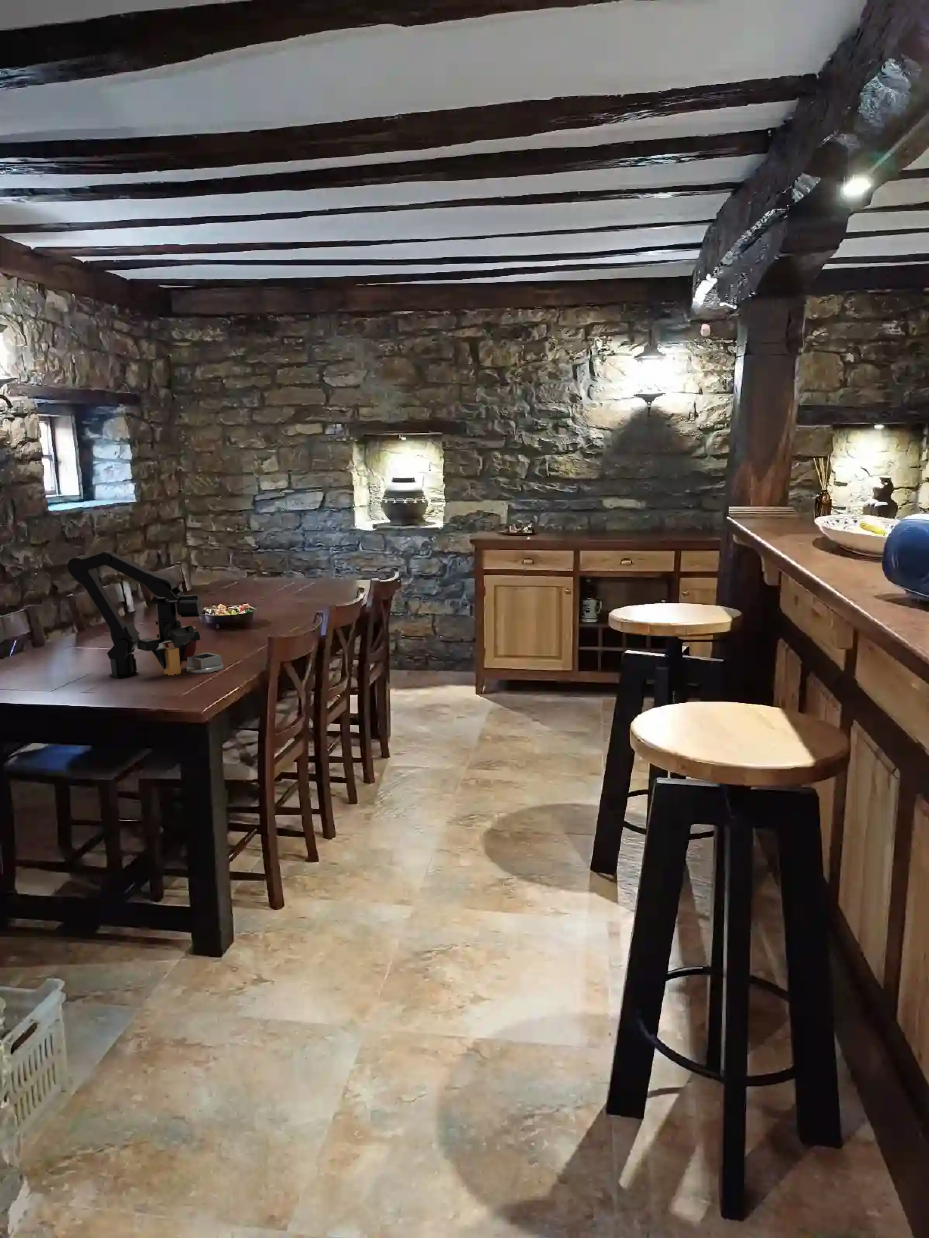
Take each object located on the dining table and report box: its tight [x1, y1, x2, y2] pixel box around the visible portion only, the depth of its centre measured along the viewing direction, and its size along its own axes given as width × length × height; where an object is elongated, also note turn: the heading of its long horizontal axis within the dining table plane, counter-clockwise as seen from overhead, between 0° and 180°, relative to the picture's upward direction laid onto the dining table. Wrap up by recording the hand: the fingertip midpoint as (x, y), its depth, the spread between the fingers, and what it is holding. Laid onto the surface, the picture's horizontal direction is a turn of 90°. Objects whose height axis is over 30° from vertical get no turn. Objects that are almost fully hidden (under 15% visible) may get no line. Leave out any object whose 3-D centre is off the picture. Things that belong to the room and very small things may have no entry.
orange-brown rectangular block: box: [163, 646, 182, 676], centre depth 274 cm, size 4×4×8 cm
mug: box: [164, 625, 198, 660], centre depth 293 cm, size 11×8×10 cm
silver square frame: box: [186, 652, 224, 675], centre depth 278 cm, size 11×11×4 cm
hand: (172, 667), depth 274 cm, fingers open, 5 cm apart
